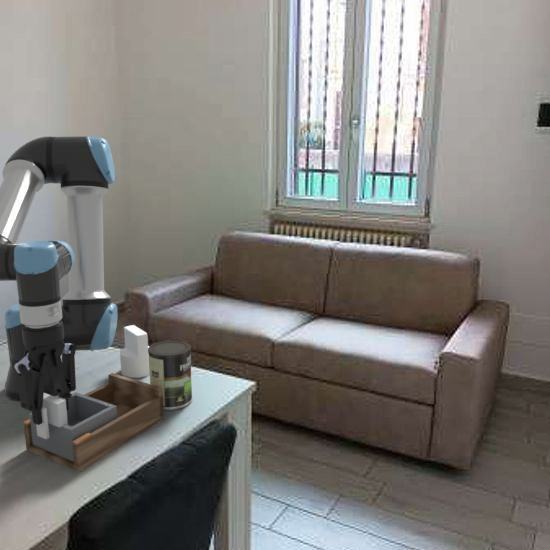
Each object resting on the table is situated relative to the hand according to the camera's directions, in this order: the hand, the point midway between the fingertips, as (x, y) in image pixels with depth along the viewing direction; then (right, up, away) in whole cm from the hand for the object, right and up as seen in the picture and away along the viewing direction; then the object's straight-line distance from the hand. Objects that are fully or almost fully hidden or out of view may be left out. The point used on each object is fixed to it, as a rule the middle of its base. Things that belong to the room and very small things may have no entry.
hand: (52, 431), depth 119 cm
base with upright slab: (+7, +5, +45) cm, 45 cm away
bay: (+6, -3, +11) cm, 13 cm away
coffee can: (+19, 0, +27) cm, 33 cm away
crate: (+3, -3, +6) cm, 7 cm away
